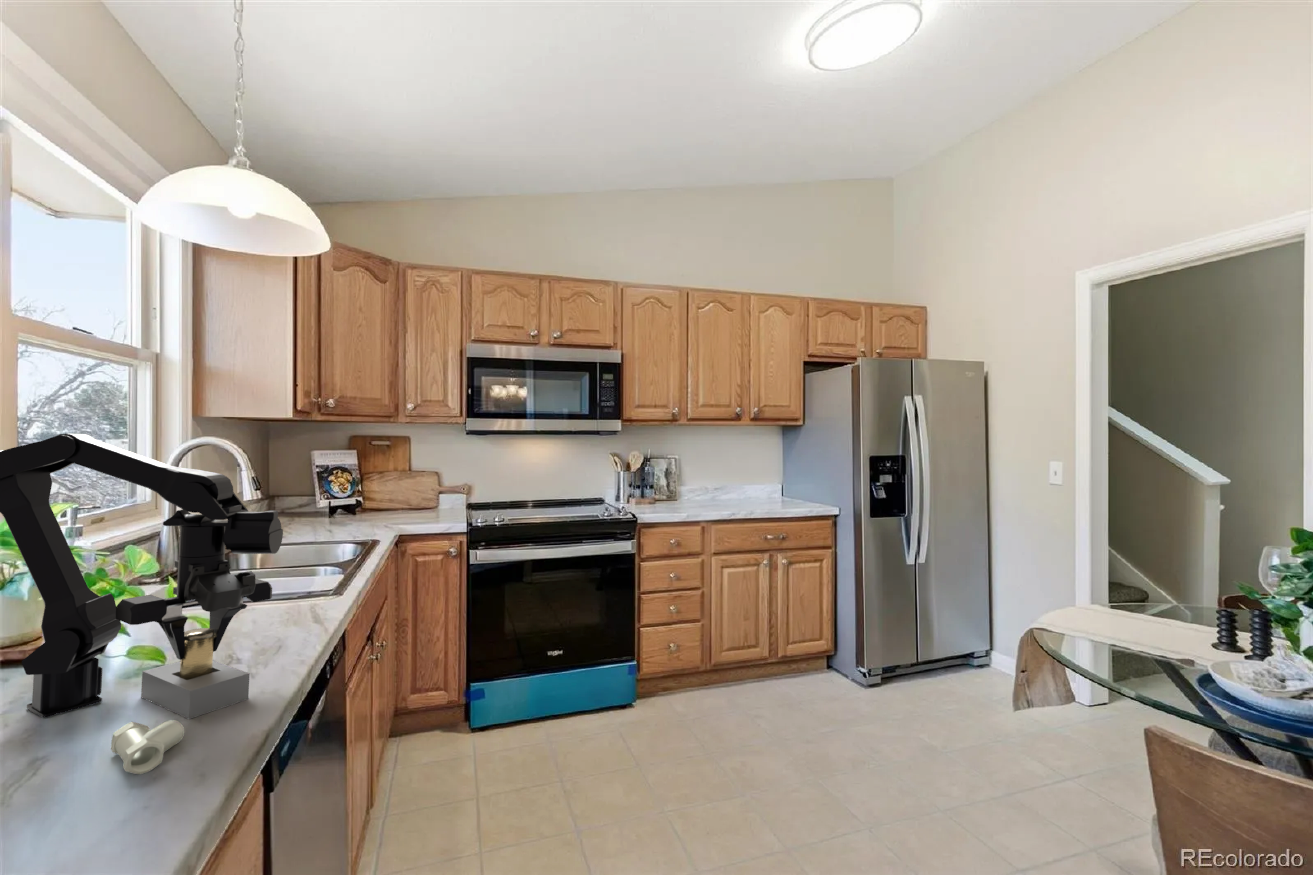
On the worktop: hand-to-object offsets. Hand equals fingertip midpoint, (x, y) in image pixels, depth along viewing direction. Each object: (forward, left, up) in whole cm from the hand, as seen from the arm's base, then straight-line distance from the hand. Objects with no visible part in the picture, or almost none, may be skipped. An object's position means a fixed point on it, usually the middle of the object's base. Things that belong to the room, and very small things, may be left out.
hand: (197, 655), depth 92 cm
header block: (0, 0, -7) cm, 7 cm away
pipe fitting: (-11, -14, -7) cm, 20 cm away
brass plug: (0, 0, -5) cm, 5 cm away
